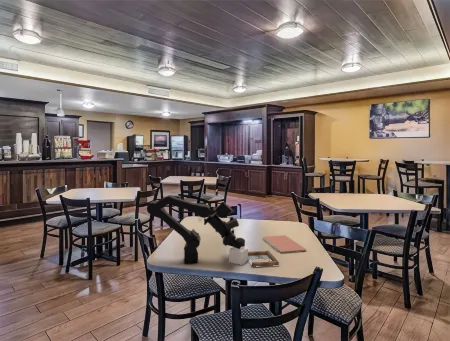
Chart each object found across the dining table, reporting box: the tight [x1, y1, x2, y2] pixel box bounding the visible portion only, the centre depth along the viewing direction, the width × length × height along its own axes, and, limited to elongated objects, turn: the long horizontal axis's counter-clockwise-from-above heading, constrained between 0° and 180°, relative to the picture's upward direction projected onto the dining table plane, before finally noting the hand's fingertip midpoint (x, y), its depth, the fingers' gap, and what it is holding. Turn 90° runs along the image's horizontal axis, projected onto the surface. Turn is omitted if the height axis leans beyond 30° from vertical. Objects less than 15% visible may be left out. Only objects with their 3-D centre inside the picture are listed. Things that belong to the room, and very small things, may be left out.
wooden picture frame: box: [247, 250, 280, 268], centre depth 151 cm, size 14×16×2 cm
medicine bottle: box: [228, 237, 249, 266], centre depth 148 cm, size 7×7×12 cm
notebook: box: [261, 234, 307, 254], centre depth 176 cm, size 27×17×2 cm, turn 14°
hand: (239, 246), depth 148 cm, fingers closed on medicine bottle, 6 cm apart
